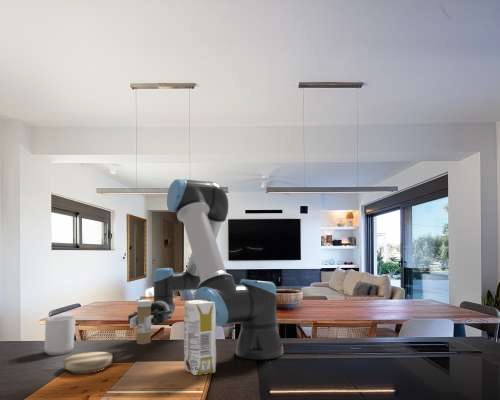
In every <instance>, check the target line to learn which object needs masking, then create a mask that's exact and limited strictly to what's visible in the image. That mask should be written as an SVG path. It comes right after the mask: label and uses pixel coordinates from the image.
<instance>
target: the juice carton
mask: <svg viewBox="0 0 500 400" xmlns="http://www.w3.org/2000/svg"><path fill="white" fill-rule="evenodd" d="M183 307H184V309H183V363H184V369H185V371H186V370H188V371H190V372H191V373H192V374H193V375H199V374H205V373H210V374H214V373H216V367H217V328H216V327H217V326H216V310H215V302H209V301H207V300H194V299H193V300H185V301H184V306H183ZM188 371H187V372H188ZM191 373H190V374H191ZM192 374H191V375H192ZM193 375H192V376H193ZM205 375H206V374H205ZM199 376H200V375H199Z"/></svg>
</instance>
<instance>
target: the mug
mask: <svg viewBox="0 0 500 400" xmlns="http://www.w3.org/2000/svg"><path fill="white" fill-rule="evenodd" d="M44 326H45V329H44V330H45V331H44V336H45V337H44V352H45V353H46V354H47V355H48V356H58V355H64V354H68V353H71V351H72V350H74V347H75V345H74V344H75V333H76V331H75V330H76V319H75V316H72V315H60V316H59V315H58V316H53V317H48V318H45V325H44Z"/></svg>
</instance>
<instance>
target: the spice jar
mask: <svg viewBox="0 0 500 400" xmlns="http://www.w3.org/2000/svg"><path fill="white" fill-rule="evenodd" d="M151 304H152V300H151V299H138V300H137V301H136V307H137V308H136V309H137V311H136V312H137V326H136V344H138V345H145V344H150V343H151V342H152V341H151V331H152V329H151V328H152V325H151V326H150V327H146V318H148V317H149V316H151Z"/></svg>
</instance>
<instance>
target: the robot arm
mask: <svg viewBox="0 0 500 400" xmlns="http://www.w3.org/2000/svg"><path fill="white" fill-rule="evenodd" d="M166 206H167V210H168V211H169V212H171V213H175V215H176V217H177V220H178V221H179V222H181V223H183V226H184V229H185V232H186V236H187V239H188V243H189V246H190V249H191V254H190V256H189V260H188V262H187V265H186V269H185V271H176V272H174V269H173V268H171V267H163V268H162V267H161V268H156V269H155V270H154V272H153V303H152V302H151V316H149V317H148V318H146V327H150V326H151V327H152V325H159V324H163V323H165V322H167V321H168V320H171V319H172V315H173V313H174V312H175V309H176V304H175V302H174V292H184V291H185V292H186V291H195V293H194V296H193V300H207V301H209V302H215V310H216V327H224V326H227V325H233V324H240V331H239V335H238V338H237V343H236V345H235V346H236V347H235V355H236V356H237V357H239V358H242V359H245V360H246V359H247V360H271V359H276V358H279V357H281V356H283V354H284V346H283V343H282V339H281V336H280V334H279V331H278V317H277V315H278V313H277V312H278V311H277V309H278V308H277V296H278V294H277V287H276V284H275V283H274V282H273V281H263V280H256V279H255V280H254V279H253V280H251V279H244V278H243V279H240V281H239V284H236V283H235V279H234V277H233V275H232V274H230V273H228V272H227V270H226V267H225V265H224V260H223V259H222V256H221V252H220V249H219V247H218V243H217V237H218V234H219V232H220V229H221V226H222V223H224V222H226V219H227V216H228V213H229V199H228V196H227V193H226V191H225V190H224V188H223V187H222V186H221V185H220V184H219V183H216V182H213V181H207V180H206V181H205V180H193V179H186V178H184V179H181V178H179V179H174V180H173V181H172V182H171V184H170V185H169V188H168V190H167V195H166ZM127 318H128V319H127V320H128V321H127V322H128V323H127V324H129V329H133V328H134V327H137V311H133V313H131V314H129V315H127Z"/></svg>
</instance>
